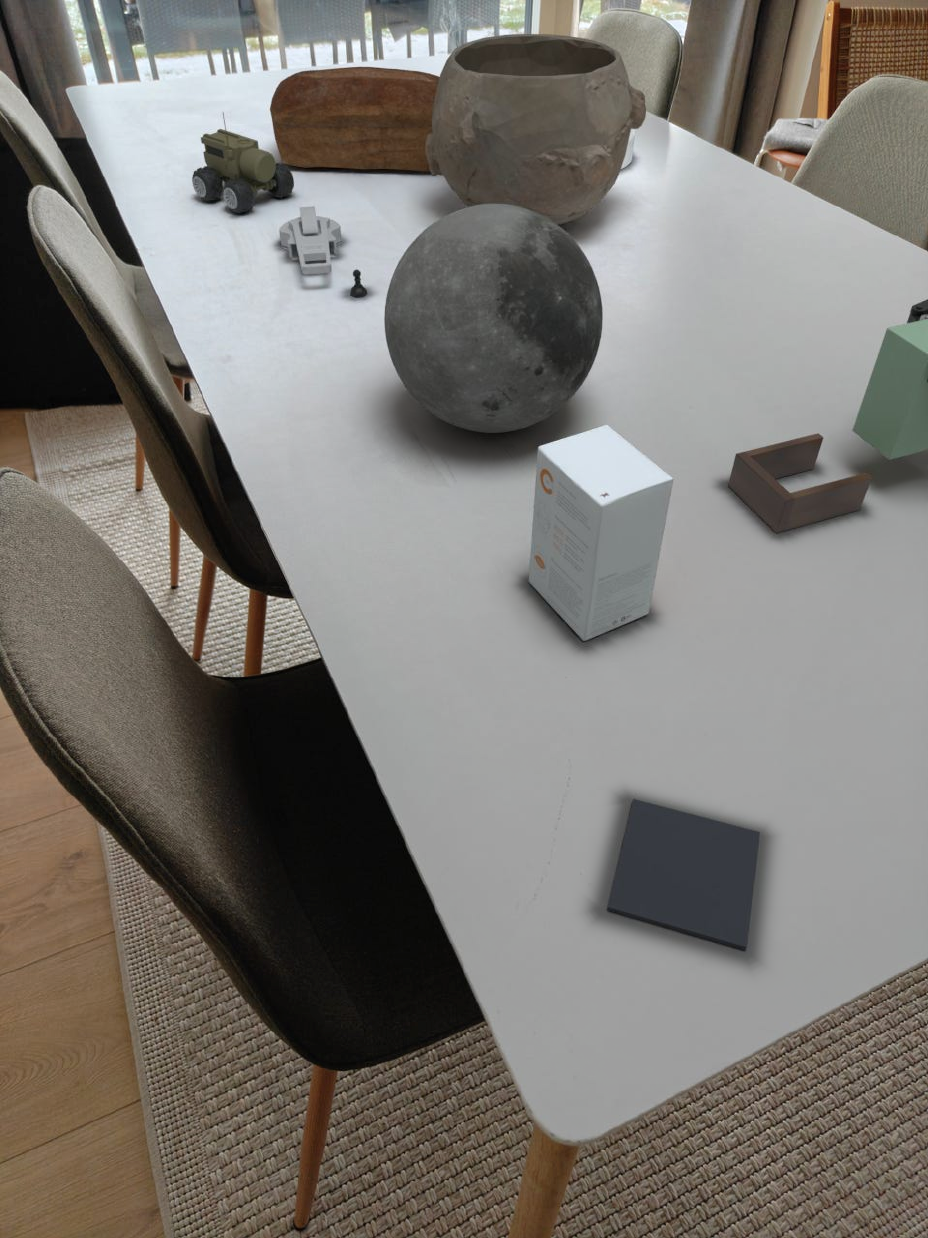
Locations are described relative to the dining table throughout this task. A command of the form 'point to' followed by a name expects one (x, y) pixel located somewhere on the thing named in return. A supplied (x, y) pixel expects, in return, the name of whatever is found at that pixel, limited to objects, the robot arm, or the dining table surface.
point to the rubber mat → (686, 873)
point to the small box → (597, 529)
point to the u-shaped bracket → (797, 508)
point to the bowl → (533, 122)
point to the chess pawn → (357, 286)
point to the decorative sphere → (493, 318)
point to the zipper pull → (311, 240)
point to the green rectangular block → (898, 394)
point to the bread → (354, 118)
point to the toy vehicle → (239, 171)
